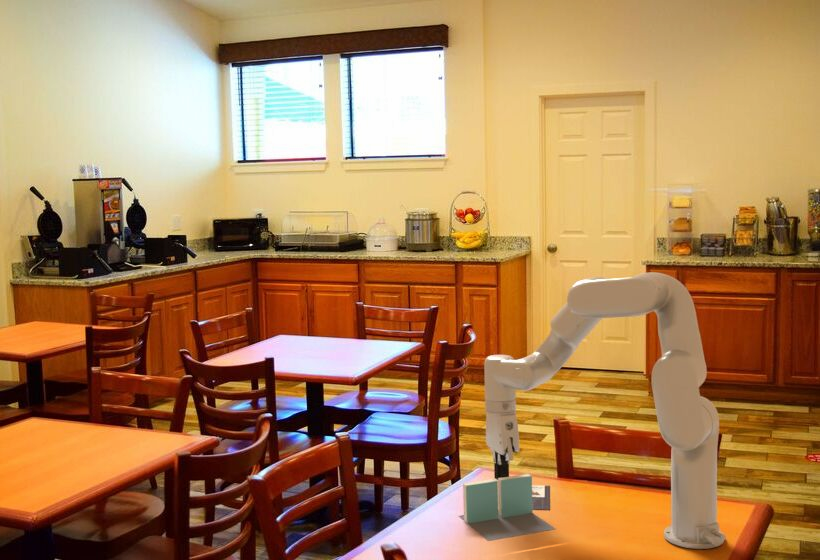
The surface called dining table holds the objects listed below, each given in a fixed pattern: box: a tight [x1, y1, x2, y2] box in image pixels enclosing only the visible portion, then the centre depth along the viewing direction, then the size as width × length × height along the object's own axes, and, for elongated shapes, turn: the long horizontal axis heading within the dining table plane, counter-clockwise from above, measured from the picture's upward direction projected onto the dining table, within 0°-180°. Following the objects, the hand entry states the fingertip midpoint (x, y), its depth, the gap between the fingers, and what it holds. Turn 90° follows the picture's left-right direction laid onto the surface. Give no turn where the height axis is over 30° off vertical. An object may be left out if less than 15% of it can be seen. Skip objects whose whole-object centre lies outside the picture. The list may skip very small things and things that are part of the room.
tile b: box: [462, 478, 499, 524], centre depth 208 cm, size 2×8×9 cm, turn 110°
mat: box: [458, 508, 556, 542], centre depth 206 cm, size 17×17×1 cm
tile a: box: [497, 473, 534, 518], centre depth 211 cm, size 2×8×9 cm, turn 110°
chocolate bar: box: [532, 484, 551, 511], centre depth 223 cm, size 9×1×18 cm
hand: (501, 478), depth 217 cm, fingers closed
